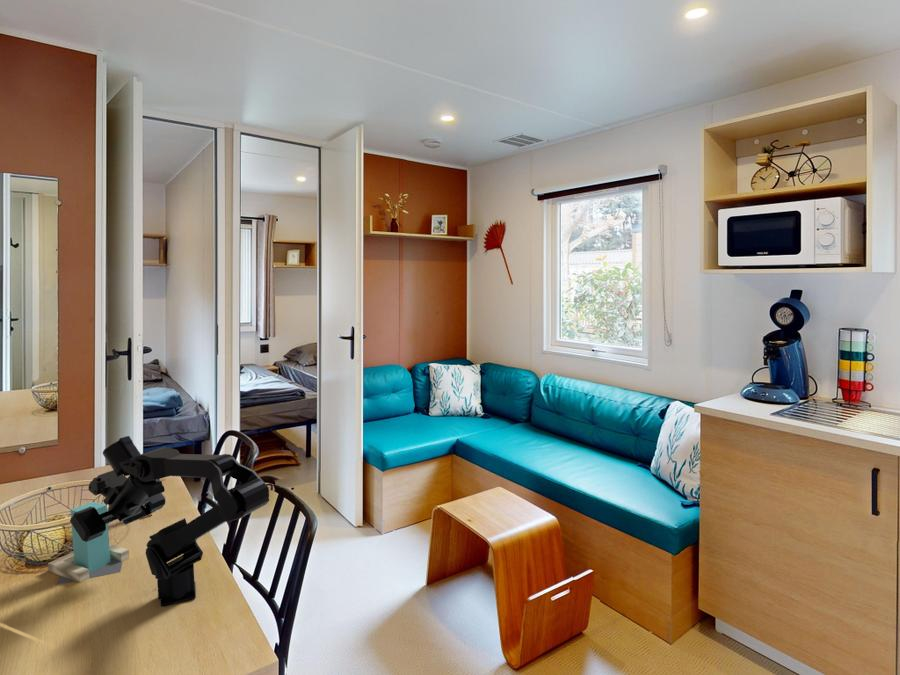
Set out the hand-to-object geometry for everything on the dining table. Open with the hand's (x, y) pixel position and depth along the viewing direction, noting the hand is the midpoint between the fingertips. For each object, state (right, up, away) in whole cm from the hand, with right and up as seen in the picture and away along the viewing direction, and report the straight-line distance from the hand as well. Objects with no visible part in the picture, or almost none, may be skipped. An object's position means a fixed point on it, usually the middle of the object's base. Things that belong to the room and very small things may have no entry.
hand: (105, 531), depth 122 cm
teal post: (-5, -9, +3) cm, 11 cm away
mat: (-5, -9, +3) cm, 11 cm away
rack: (-5, -9, +3) cm, 11 cm away
